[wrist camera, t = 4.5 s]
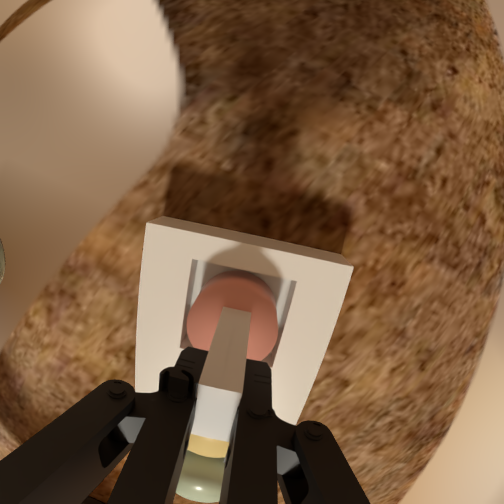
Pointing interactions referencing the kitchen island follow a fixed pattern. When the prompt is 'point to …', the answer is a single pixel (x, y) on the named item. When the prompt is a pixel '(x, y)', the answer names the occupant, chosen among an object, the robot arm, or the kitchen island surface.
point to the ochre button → (207, 446)
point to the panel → (248, 260)
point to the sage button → (201, 478)
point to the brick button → (241, 298)
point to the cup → (2, 261)
